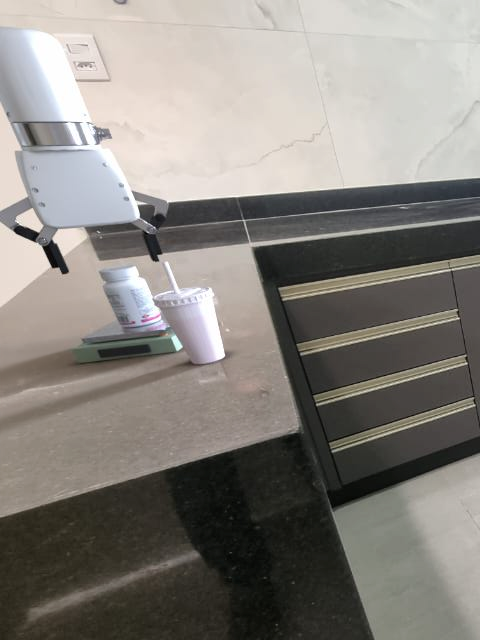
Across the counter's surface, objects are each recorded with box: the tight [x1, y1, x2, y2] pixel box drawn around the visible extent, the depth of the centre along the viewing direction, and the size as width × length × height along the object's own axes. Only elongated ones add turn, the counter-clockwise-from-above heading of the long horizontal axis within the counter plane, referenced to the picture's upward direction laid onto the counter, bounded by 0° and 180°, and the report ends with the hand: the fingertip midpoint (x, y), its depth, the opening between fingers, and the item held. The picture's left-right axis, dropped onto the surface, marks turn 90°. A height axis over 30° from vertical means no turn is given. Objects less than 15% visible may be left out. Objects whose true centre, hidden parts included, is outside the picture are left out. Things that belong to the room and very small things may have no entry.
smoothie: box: [152, 261, 226, 365], centre depth 72 cm, size 6×6×14 cm
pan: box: [80, 312, 172, 343], centre depth 80 cm, size 10×10×1 cm
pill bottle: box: [98, 264, 161, 328], centre depth 78 cm, size 5×5×8 cm
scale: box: [71, 330, 184, 364], centre depth 81 cm, size 12×12×2 cm
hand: (112, 266), depth 76 cm, fingers open, 9 cm apart
